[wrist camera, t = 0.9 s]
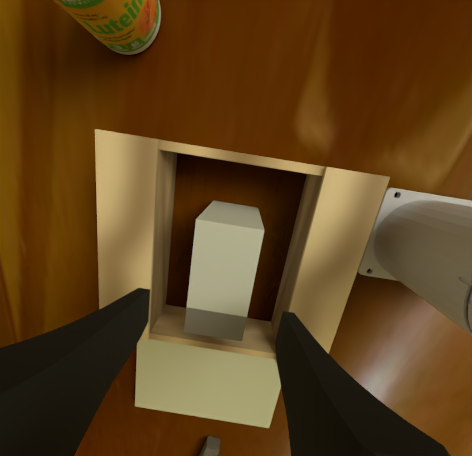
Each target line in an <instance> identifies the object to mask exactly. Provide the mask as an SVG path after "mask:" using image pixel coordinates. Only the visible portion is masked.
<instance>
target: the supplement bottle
mask: <svg viewBox="0 0 472 456" xmlns="http://www.w3.org/2000/svg"><path fill="white" fill-rule="evenodd" d="M53 1H54V2H55V3H56V4H57V5H59V6H60V7H61V8H62V9H63V10H65V11H66V12H67V13H68V14H69V15H70V16H71V17H73V18H74V19H75V20H76V21H77V22H78V23H80V24H81V25H82V26H83V27H84V28H85V29H86V30H88V31H89V32H90V33H91V34H92V35H93V36H94V37H96V38H97V39H98V40H99V41H100V42H102V43H103V44H104V45H106V46H107V47H108V48H110V49H111V50H113V51H115V52H118V53H121V54H126V55H132V54H137V53H140V52H142V51H144V50H145V49H146V48H148V47H149V46H150V45H151V43H152V42H153V41H154V39H155V37H156V35H157V33H158V30H159V27H160V21H161V9H160V2H159V0H53Z"/></svg>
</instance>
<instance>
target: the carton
mask: <svg viewBox="0 0 472 456" xmlns="http://www.w3.org/2000/svg"><path fill="white" fill-rule="evenodd" d="M177 153H181V154H187V155H194V156H200V157H206V158H212V159H218V160H224V161H230V162H237V163H243V164H249V165H255V166H261V167H267V168H273V169H279V170H286V171H292V172H298V173H304V174H307V175H306V179H305V183H304V188H303V192H302V196H301V200H300V204H299V208H298V212H297V217H296V221H295V225H294V229H293V233H292V237H291V241H290V246H289V250H288V254H287V258H286V262H285V266H284V270H283V275H282V279H281V283H280V287H279V291H278V295H277V299H276V304H275V308H274V312H273V316H272V320H271V322H270V321H264V320H258V319H251V318H247V319H246V324H245V329H244V334H243V339H242V341H235V340H229V339H223V338H217V337H211V336H205V335H198V334H192V333H186V332H184V326H185V317H186V308H184V307H178V306H172V305H166V298H167V285H168V271H169V258H170V245H171V232H172V219H173V206H174V192H175V179H176V166H177ZM95 154H96V194H97V234H98V274H99V309H101V308H103V307H105V306H107V305H109V304H110V303H112V302H114V301H116V300H118V299H119V298H121V297H123V296H125V295H126V294H128V293H130V292H132V291H134V290H135V289H137V288H144V289H150V302H149V321H148V323H147V326H146V328H145V330H144V332H143V334H142V336H141V338H140V340H141V341H147V342H148V340H149V339H153V340H159V341H165V342H171V343H177V344H183V345H189V346H196V347H202V348H208V349H214V350H220V351H226V352H232V353H239V354H245V355H251V356H257V357H263V358H269V359H275V362H276V349H275V340H276V336H277V332H278V328H279V324H280V320H281V316H282V312H283V311H286V312H293V313H295V314H296V316H297V317H298V318H299V319H300V321H301V322H302V323H303V324H304V326H305V327H306V328H307V329H308V331H309V332H310V333H311V334H312V336H313V337H314V338H315V339H316V340H317V342H318V343H319V344H320V345H321V346H322V347H323V349H324V350H325V351H326V352H327V353H328V354H329V351H330V348H331V345H332V343H333V340H334V337H335V334H336V331H337V328H338V325H339V322H340V320H341V317H342V314H343V311H344V308H345V305H346V302H347V299H348V297H349V294H350V291H351V288H352V285H353V282H354V279H355V276H356V274H357V271H358V268H359V265H360V262H361V259H362V256H363V254H364V251H365V248H366V245H367V242H368V239H369V236H370V233H371V231H372V228H373V225H374V222H375V219H376V216H377V213H378V210H379V208H380V205H381V202H382V199H383V196H384V193H385V190H386V187H387V185H388V182H389V179H390V177H386V176H380V175H374V174H368V173H362V172H355V171H349V170H343V169H337V168H331V167H323V166H317V165H311V164H305V163H299V162H293V161H286V160H280V159H274V158H268V157H262V156H256V155H250V154H243V153H237V152H231V151H225V150H219V149H213V148H207V147H201V146H194V145H188V144H182V143H176V142H170V141H164V140H159V139H153V138H147V137H141V136H135V135H128V134H122V133H116V132H110V131H104V130H98V129H95ZM276 363H277V362H276Z"/></svg>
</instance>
